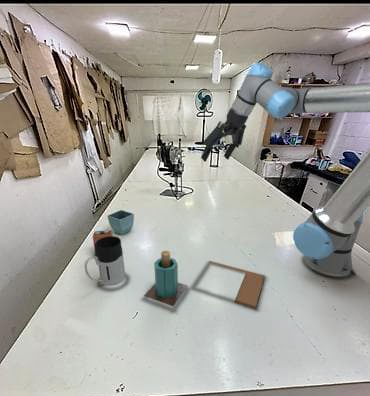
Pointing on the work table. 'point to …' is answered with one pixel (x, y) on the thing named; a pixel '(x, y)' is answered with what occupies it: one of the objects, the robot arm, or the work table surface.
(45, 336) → the work table surface
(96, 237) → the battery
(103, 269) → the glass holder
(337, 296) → the work table surface
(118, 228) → the flower pot
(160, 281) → the sleeve
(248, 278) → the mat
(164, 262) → the peg stand
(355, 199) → the robot arm
